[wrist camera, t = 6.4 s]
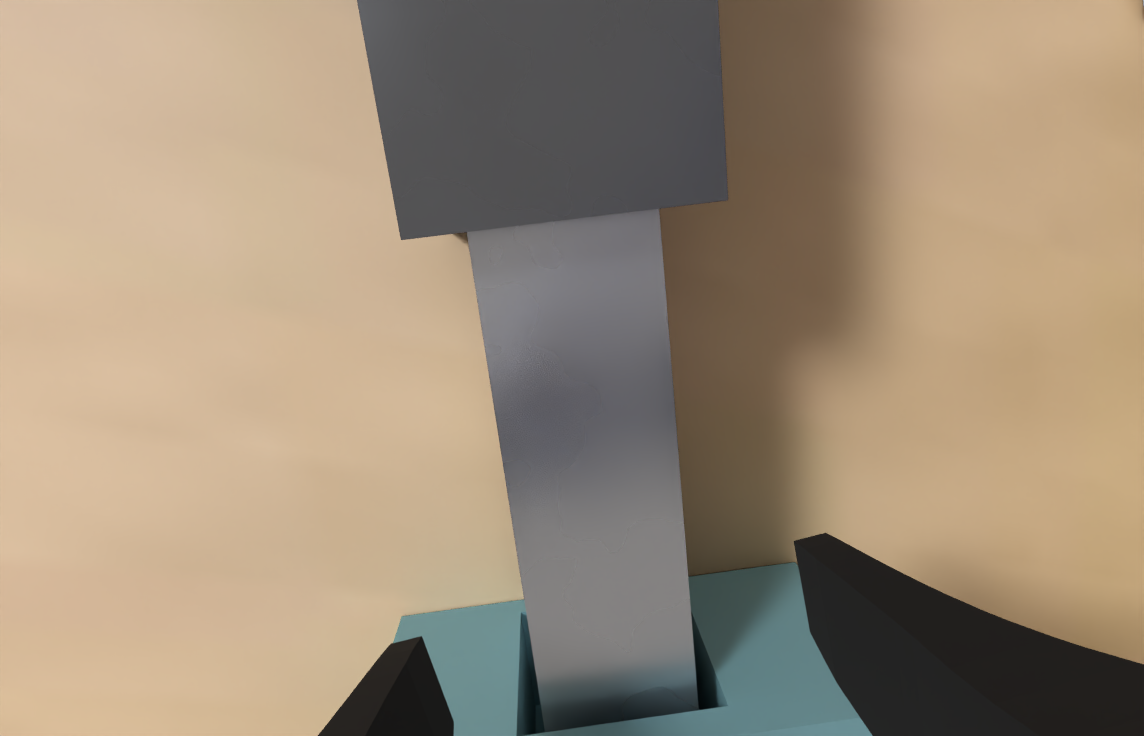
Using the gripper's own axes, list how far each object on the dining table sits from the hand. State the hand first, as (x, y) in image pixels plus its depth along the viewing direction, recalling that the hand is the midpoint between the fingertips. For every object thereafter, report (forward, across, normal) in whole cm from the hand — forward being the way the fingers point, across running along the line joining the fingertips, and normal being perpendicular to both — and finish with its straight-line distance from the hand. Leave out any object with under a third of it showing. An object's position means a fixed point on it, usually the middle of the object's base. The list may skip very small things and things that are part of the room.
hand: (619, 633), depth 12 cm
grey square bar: (+5, 0, -3) cm, 6 cm away
